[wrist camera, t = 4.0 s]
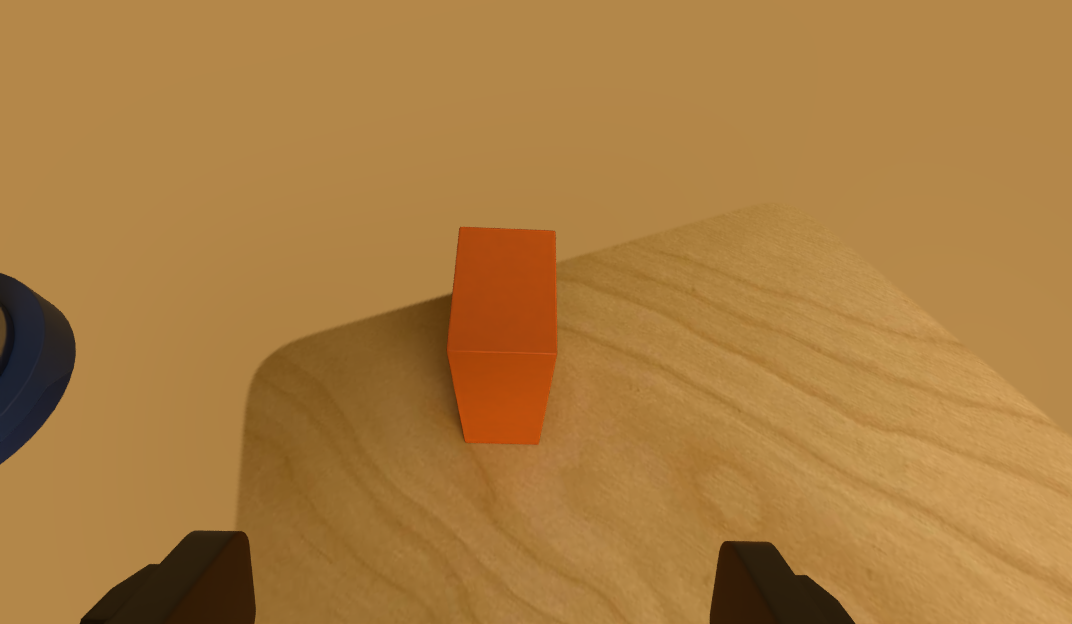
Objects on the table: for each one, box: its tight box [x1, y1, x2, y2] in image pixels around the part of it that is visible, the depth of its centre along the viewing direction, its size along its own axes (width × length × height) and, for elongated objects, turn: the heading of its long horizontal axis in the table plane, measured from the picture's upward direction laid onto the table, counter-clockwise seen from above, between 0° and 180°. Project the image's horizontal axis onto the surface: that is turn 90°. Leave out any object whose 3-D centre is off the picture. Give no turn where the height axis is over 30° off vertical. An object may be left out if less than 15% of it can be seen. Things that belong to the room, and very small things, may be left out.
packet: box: [446, 227, 557, 444], centre depth 22 cm, size 4×5×10 cm
